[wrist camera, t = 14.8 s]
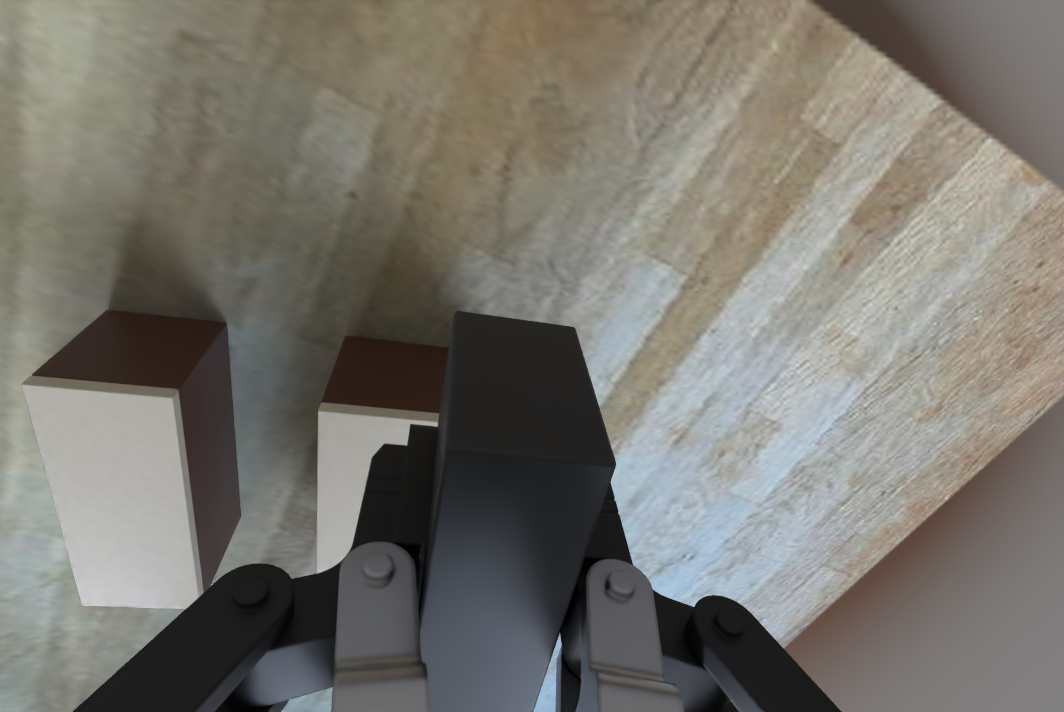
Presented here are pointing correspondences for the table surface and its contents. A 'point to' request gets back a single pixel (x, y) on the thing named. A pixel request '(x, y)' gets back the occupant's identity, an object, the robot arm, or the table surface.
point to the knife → (508, 509)
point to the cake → (367, 426)
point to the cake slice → (140, 456)
